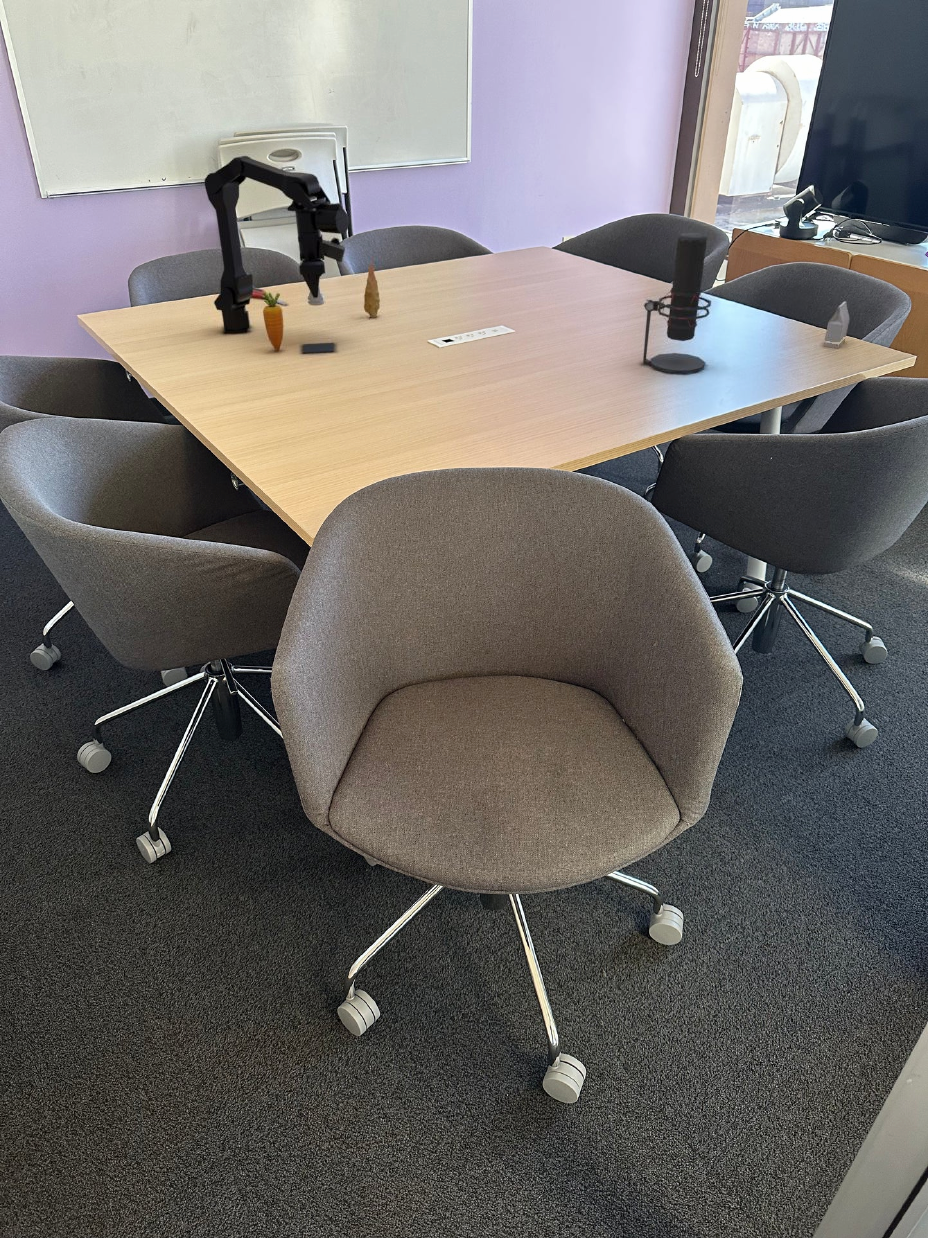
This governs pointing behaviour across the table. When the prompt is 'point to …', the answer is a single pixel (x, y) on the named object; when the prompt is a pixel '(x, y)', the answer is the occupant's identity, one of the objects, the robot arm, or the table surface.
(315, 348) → the coaster
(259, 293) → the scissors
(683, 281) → the microphone
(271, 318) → the carrot
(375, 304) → the stone tool
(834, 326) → the grey pointed faceted piece
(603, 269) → the table surface
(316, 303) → the rook chess piece
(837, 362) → the table surface
